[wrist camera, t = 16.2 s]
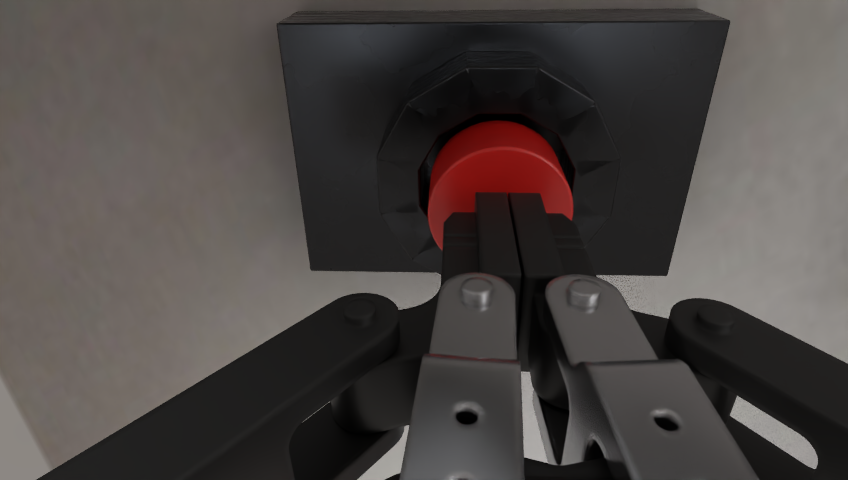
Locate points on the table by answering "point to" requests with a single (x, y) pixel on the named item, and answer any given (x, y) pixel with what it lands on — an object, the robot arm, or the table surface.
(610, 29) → the red push button panel
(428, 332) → the robot arm
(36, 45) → the table surface
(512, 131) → the button
